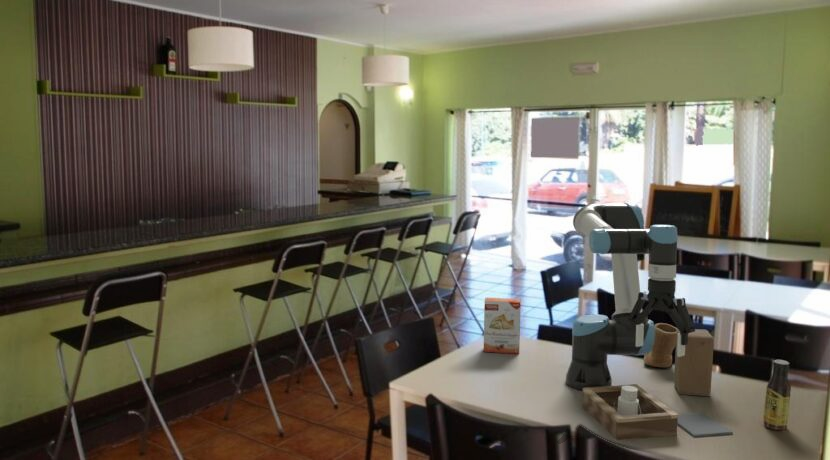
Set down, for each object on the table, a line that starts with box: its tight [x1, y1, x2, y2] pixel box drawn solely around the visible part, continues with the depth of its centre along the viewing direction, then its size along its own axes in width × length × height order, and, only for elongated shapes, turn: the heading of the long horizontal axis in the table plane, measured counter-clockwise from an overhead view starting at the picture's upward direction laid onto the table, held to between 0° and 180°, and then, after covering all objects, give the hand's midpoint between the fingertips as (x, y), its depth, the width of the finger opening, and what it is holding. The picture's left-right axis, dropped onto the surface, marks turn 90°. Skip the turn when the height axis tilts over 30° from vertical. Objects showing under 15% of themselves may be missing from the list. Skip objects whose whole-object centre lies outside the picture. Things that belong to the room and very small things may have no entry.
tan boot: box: [643, 322, 678, 368], centre depth 251 cm, size 15×12×15 cm
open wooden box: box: [581, 383, 679, 441], centre depth 202 cm, size 24×18×6 cm
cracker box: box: [483, 297, 522, 355], centre depth 265 cm, size 14×6×21 cm, turn 80°
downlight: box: [613, 384, 642, 416], centre depth 201 cm, size 8×7×10 cm
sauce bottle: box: [762, 359, 792, 431], centre depth 195 cm, size 6×6×20 cm
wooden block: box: [673, 328, 715, 397], centre depth 223 cm, size 10×10×20 cm
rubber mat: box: [677, 411, 734, 438], centre depth 198 cm, size 14×12×1 cm
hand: (659, 350), depth 197 cm, fingers open, 13 cm apart
